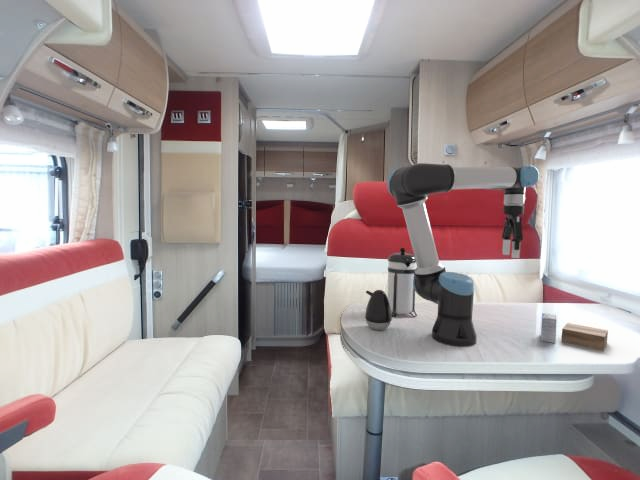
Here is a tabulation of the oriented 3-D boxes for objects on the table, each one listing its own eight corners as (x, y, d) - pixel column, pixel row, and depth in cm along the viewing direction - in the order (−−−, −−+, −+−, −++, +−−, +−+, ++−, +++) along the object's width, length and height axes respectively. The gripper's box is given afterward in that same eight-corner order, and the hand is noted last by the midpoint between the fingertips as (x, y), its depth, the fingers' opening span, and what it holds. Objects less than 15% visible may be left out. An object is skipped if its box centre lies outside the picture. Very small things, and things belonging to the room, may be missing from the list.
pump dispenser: (369, 322, 146) (370, 286, 145) (394, 326, 141) (395, 289, 140) (360, 329, 137) (361, 290, 136) (387, 334, 132) (388, 293, 131)
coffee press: (424, 313, 161) (427, 247, 159) (407, 320, 150) (409, 250, 147) (391, 306, 173) (393, 245, 171) (372, 312, 161) (374, 246, 159)
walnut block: (603, 351, 120) (604, 336, 119) (561, 342, 128) (562, 328, 128) (606, 344, 127) (607, 330, 127) (566, 335, 135) (567, 322, 135)
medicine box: (555, 343, 126) (557, 319, 125) (540, 341, 128) (542, 317, 127) (554, 337, 132) (556, 314, 132) (540, 335, 135) (542, 312, 134)
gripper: (534, 204, 134) (530, 260, 135) (514, 206, 158) (511, 253, 160) (512, 203, 136) (509, 259, 137) (496, 206, 160) (493, 253, 161)
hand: (510, 256), depth 148 cm, fingers open, 13 cm apart
